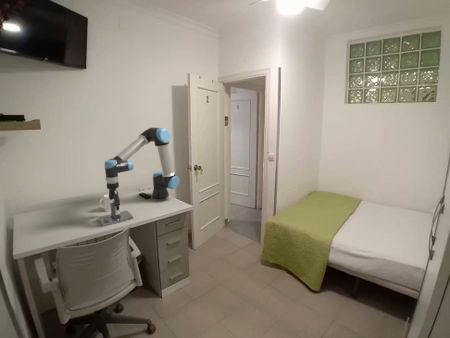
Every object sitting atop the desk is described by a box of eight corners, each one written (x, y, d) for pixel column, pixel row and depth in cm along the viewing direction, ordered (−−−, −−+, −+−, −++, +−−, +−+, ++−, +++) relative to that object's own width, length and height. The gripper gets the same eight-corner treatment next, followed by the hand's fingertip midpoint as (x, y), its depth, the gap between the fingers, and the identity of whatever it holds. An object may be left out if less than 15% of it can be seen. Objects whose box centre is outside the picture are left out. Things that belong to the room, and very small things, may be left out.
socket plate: (127, 212, 177) (127, 209, 176) (133, 219, 166) (133, 215, 166) (98, 219, 164) (97, 216, 164) (102, 226, 154) (102, 223, 153)
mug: (101, 213, 174) (99, 198, 172) (99, 209, 181) (98, 195, 179) (117, 210, 181) (116, 195, 178) (115, 206, 188) (114, 192, 185)
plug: (118, 217, 168) (116, 199, 165) (120, 219, 165) (118, 201, 162) (111, 219, 166) (109, 200, 163) (113, 221, 162) (111, 202, 159)
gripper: (102, 179, 166) (105, 206, 171) (111, 187, 148) (114, 218, 152) (113, 177, 171) (116, 204, 176) (123, 185, 152) (126, 215, 157)
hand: (115, 211), depth 164 cm, fingers open, 13 cm apart
